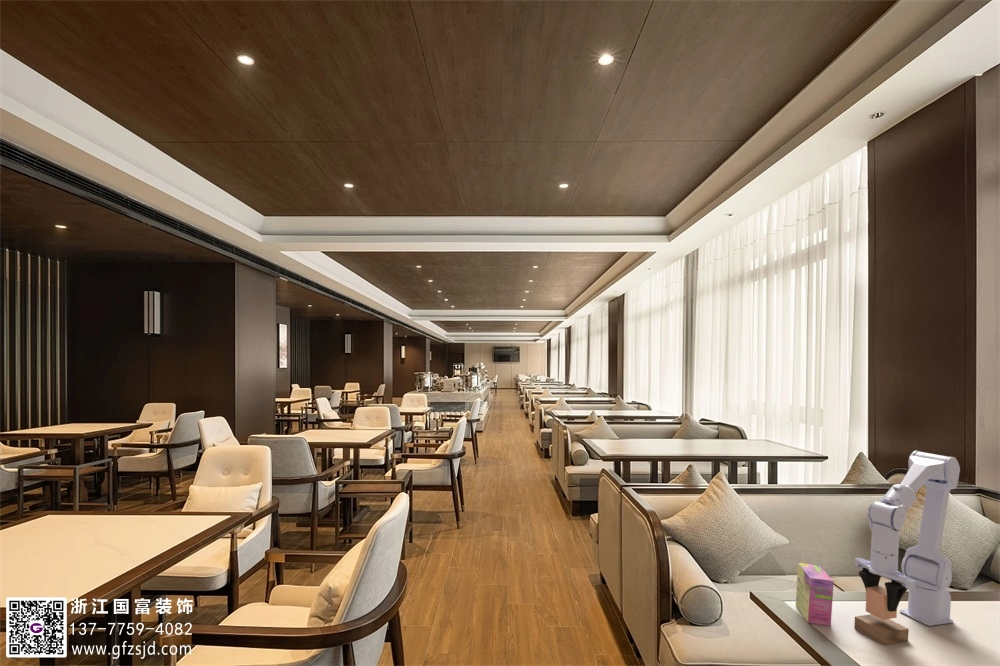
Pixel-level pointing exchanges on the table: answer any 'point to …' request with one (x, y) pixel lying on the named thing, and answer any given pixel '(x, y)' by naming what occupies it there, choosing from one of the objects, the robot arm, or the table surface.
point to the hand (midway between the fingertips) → (882, 605)
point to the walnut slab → (881, 629)
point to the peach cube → (878, 603)
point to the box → (814, 594)
